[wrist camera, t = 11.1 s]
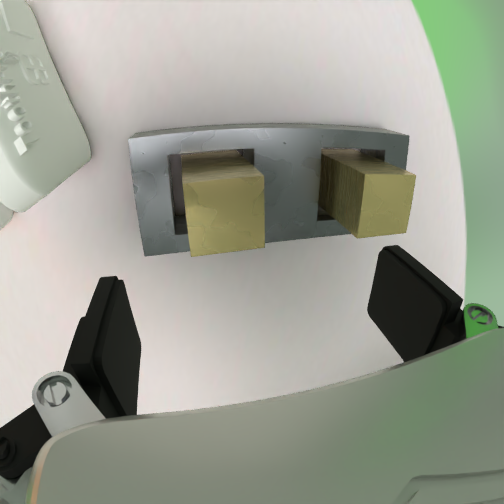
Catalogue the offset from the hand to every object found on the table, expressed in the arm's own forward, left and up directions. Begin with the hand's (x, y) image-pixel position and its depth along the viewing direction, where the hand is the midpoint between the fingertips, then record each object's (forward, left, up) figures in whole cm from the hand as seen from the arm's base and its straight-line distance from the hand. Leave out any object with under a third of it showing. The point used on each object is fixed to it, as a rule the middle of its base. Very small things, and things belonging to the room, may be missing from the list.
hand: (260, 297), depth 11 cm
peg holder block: (-5, -1, -14) cm, 15 cm away
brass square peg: (0, -1, -14) cm, 14 cm away
